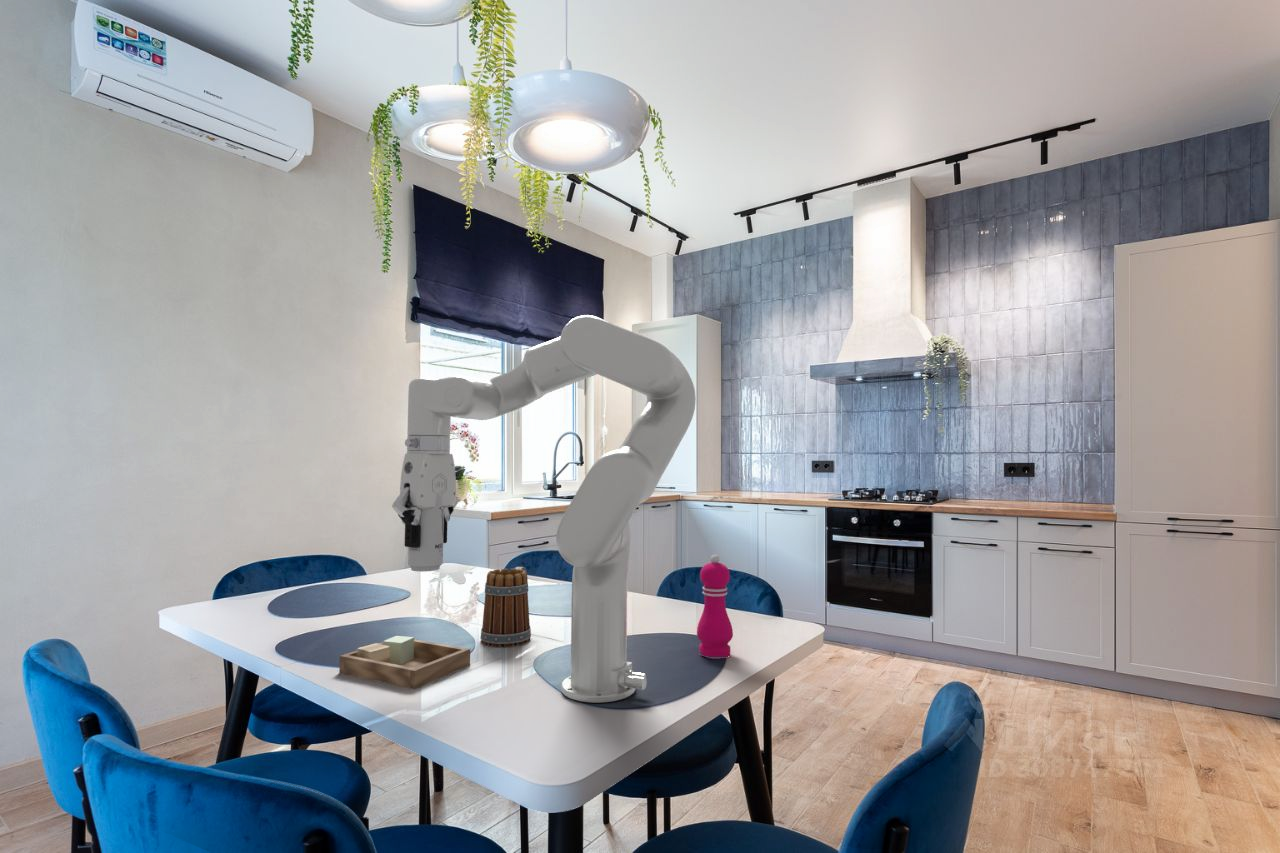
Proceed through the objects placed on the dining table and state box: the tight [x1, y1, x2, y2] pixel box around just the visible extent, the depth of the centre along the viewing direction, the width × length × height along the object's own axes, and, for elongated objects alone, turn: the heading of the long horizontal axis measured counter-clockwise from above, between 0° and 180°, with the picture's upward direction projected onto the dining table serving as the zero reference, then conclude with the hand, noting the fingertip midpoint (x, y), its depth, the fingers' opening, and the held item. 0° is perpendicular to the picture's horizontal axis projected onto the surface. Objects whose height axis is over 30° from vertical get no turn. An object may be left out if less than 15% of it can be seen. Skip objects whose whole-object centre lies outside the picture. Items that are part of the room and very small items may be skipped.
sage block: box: [382, 635, 415, 665], centre depth 126 cm, size 4×4×4 cm
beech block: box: [356, 642, 390, 663], centre depth 121 cm, size 4×4×4 cm
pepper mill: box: [696, 554, 734, 658], centre depth 134 cm, size 7×7×20 cm
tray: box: [338, 638, 471, 690], centre depth 121 cm, size 18×14×4 cm
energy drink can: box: [407, 495, 444, 573], centre depth 121 cm, size 6×6×15 cm
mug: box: [480, 566, 532, 648], centre depth 143 cm, size 16×11×15 cm
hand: (426, 543), depth 121 cm, fingers closed on energy drink can, 6 cm apart
